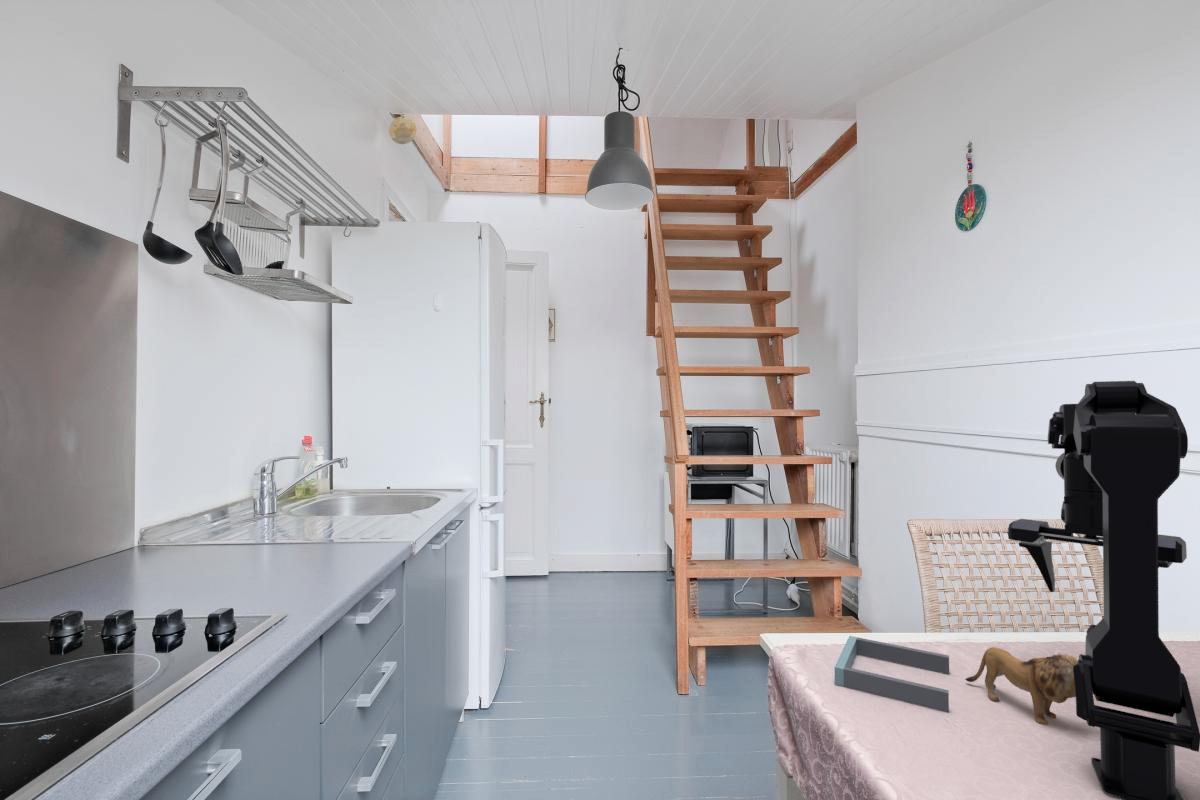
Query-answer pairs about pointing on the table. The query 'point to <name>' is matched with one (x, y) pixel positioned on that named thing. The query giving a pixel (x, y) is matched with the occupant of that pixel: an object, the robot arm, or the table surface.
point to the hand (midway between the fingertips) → (1092, 599)
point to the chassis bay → (890, 685)
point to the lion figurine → (1031, 678)
